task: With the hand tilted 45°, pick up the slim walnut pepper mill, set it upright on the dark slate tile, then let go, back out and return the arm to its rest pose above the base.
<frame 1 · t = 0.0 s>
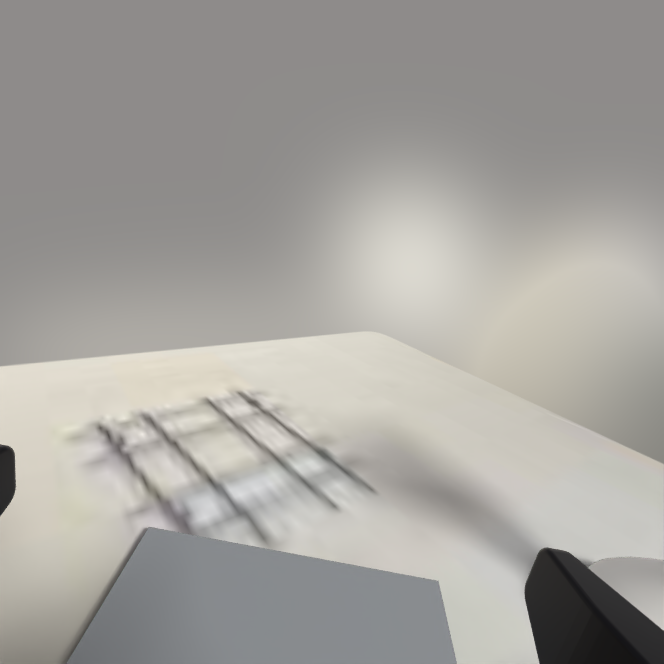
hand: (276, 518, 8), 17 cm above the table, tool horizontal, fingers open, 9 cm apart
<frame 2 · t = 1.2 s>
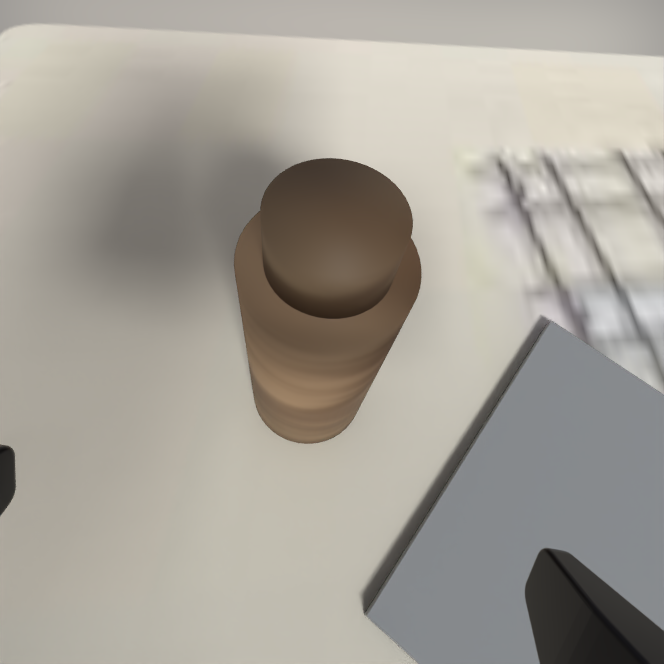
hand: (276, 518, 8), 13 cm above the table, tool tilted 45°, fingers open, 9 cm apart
slate tile: (637, 572, 20), on the table
pepper mill: (307, 390, 23), on the table
when the fingers open (8 cm above the table, at t = 7.9 s): pepper mill stays where it is, resting on slate tile.
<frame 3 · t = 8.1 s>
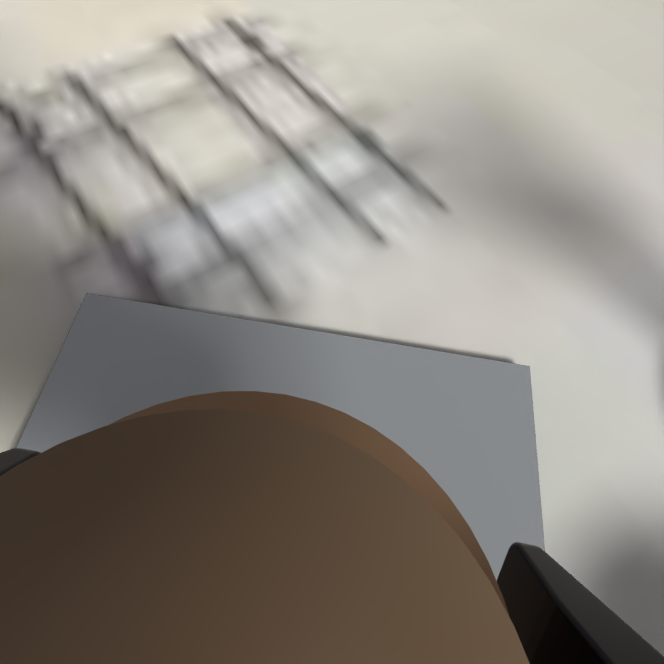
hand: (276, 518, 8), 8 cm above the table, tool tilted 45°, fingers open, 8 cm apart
slate tile: (268, 584, 14), on the table
pepper mill: (267, 590, 14), point 1 cm above the table, touching slate tile
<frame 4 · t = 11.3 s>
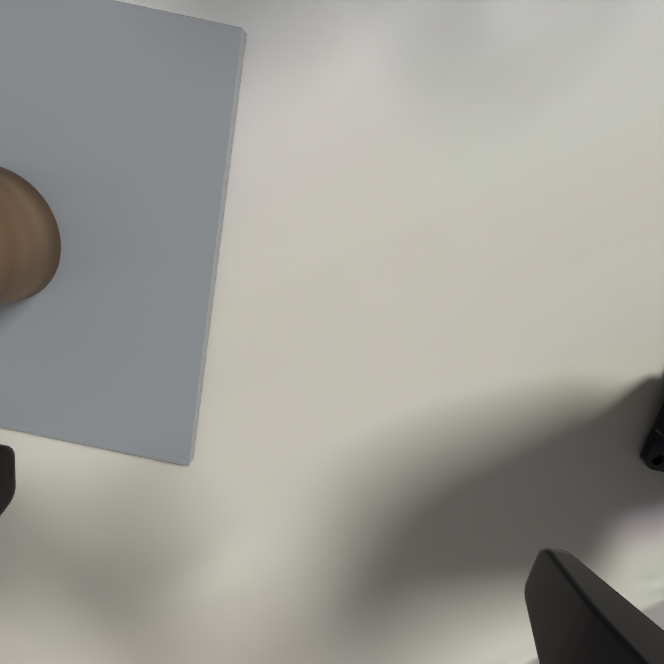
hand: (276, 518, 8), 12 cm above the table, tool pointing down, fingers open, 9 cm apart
slate tile: (4, 232, 19), on the table
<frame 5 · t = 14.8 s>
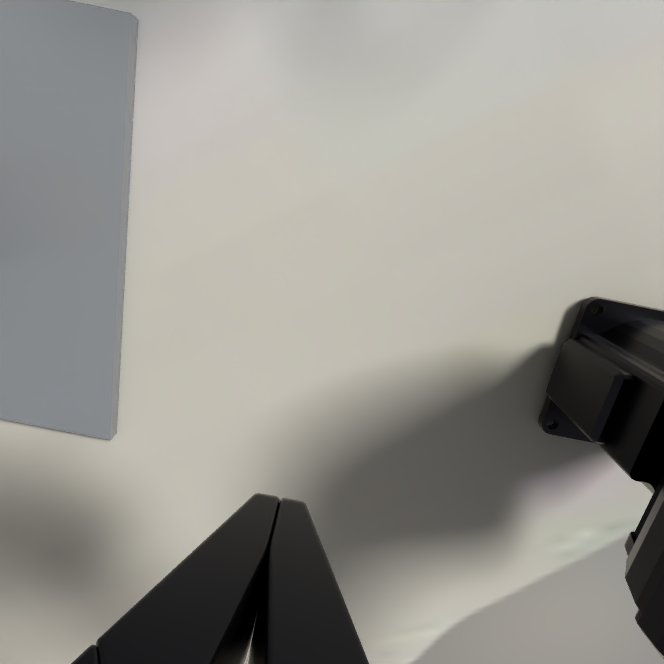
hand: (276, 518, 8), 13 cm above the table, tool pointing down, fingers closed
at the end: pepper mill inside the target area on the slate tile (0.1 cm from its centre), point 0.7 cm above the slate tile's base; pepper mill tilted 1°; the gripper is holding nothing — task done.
